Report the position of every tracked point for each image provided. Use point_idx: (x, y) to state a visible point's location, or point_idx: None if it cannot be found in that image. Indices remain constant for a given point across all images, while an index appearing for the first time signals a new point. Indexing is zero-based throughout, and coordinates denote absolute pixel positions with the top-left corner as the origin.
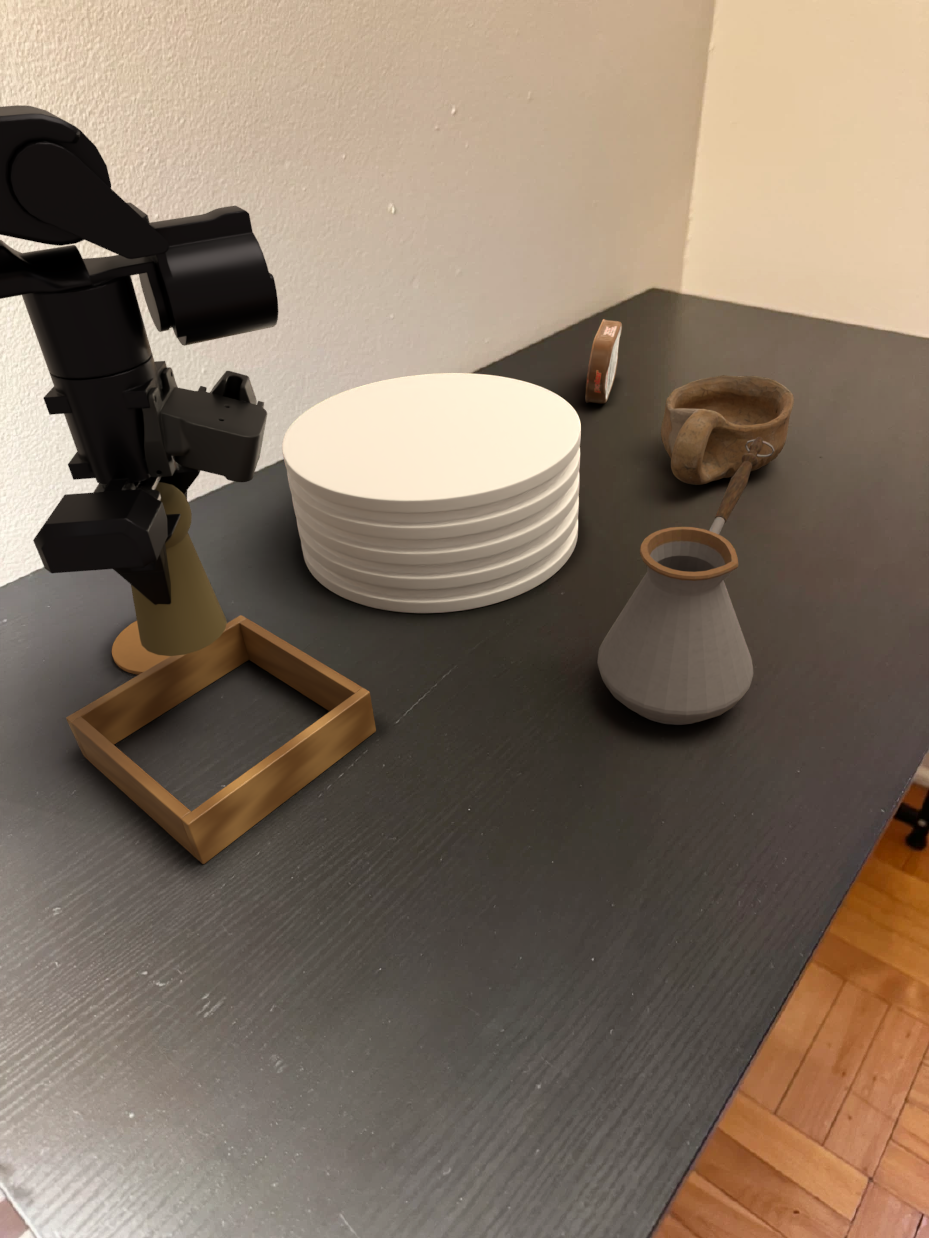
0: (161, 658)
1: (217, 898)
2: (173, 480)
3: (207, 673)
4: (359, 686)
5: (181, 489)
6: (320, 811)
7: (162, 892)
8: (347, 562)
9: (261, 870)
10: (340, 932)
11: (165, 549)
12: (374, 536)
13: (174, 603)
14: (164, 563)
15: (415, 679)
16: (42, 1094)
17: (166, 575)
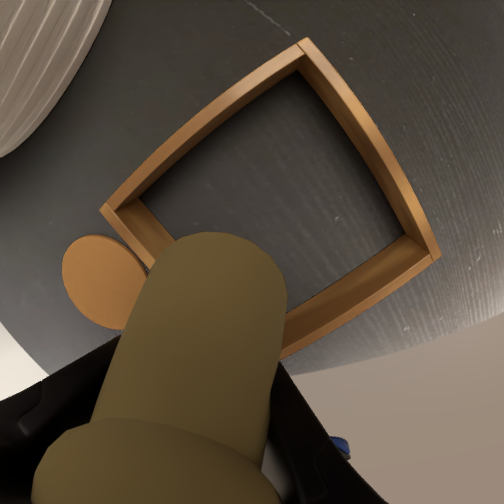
0: (131, 288)
1: (445, 224)
2: (2, 490)
3: (168, 242)
4: (293, 46)
5: (6, 459)
6: (395, 129)
7: None
8: (29, 87)
9: (436, 189)
10: (489, 142)
11: (304, 478)
12: (23, 29)
13: (278, 354)
14: (320, 451)
15: (219, 10)
16: (493, 306)
17: (308, 419)
